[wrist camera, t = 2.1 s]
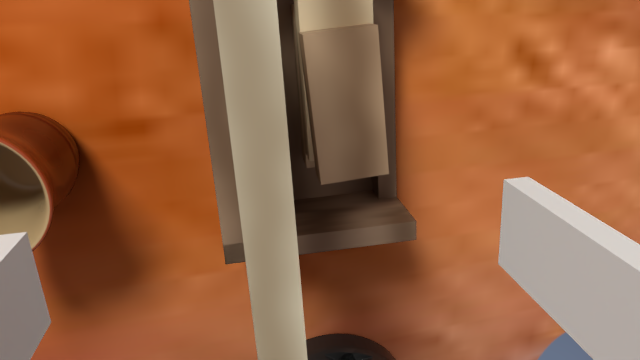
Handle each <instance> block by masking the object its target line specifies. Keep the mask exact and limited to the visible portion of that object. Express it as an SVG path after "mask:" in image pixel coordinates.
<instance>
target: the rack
mask: <svg viewBox="0 0 640 360" xmlns="http://www.w3.org/2000/svg"><path fill="white" fill-rule="evenodd" d="M189 4H190V11H191V18H192V25H193V33H194V40H195V47H196V54H197V61H198V69H199V76H200V83H201V90H202V97H203V104H204V112H205V119H206V126H207V133H208V140H209V148H210V155H211V162H212V169H213V176H214V183H215V191H216V198H217V205H218V212H219V219H220V227H221V234H222V241H223V248H224V255H225V262H226V264H232V263H240V262H246V260H245V252H244V244H243V236H242V228H241V220H240V212H239V204H238V196H237V188H236V180H235V171H234V163H233V155H232V147H231V139H230V131H229V123H228V115H227V107H226V99H225V91H224V83H223V75H222V67H221V59H220V51H219V43H218V35H217V27H216V19H215V11H214V3H213V0H189ZM291 4H294V0H277V12H278V23H279V35H280V46H281V58H282V69H283V81H284V93H285V104H286V116H287V127H288V139H289V151H290V162H291V174H292V185H293V197H294V208H295V220H296V232H297V243H298V255H302V254H309V253H317V252H325V251H333V250H341V249H348V248H356V247H364V246H372V245H379V244H387V243H395V242H403V241H410V240H416V220H415V219H414V218H413V217H412V215H411V214H410V213H409V212H408V210H407V209H406V208H405V207H404V206H403V204H402V203H401V202H400V201H399V199H398V198H397V191H396V128H395V64H394V0H373V24H376V25H378V33H379V46H380V59H381V73H382V86H383V100H384V113H385V126H386V140H387V153H388V166H389V174H385V175H379V176H373V177H367V178H361V179H355V180H349V181H343V182H336V183H330V184H324V185H321V184H320V181H319V179H318V177H317V175H316V170H315V167H312V168H307V167H306V165H305V163H304V160H303V154H302V142H301V129H300V116H299V103H298V90H297V77H296V65H295V52H294V39H293V26H292V13H291Z"/></svg>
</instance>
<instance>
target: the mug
mask: <svg viewBox="0 0 640 360" xmlns="http://www.w3.org/2000/svg"><path fill="white" fill-rule="evenodd" d="M79 165H80V157H79V151H78V148H77V145H76V143H75V141H74V139H73V138H72V136H71V135H70V134H69V132H68V131H67V130H66V129H65V128H64V127H63V126H62V125H60V124H59V123H58V122H56V121H55V120H53V119H51V118H49V117H46V116H44V115H41V114H37V113H31V112H11V113H5V114H1V115H0V235H4V234H13V233H22V232H27V234H28V238H29V241H30V245H31V249H32V251H34V250H35V249H36V248H37V247H38V246H39V245H40V244H41V242H42V241H43V239H44V238H45V236H46V234H47V233H48V230H49V228H50V225H51V222H52V217H53V209H54V208H55V207H56V206H57V205H58V204H59V203H60V202H61V201H62V200H63V199H64V198H65V197H66V196H67V195H68V194H69V193H70V191H71V190H72V188H73V186H74V184H75V181H76V179H77V176H78V171H79Z"/></svg>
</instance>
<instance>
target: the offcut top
mask: <svg viewBox="0 0 640 360" xmlns="http://www.w3.org/2000/svg"><path fill="white" fill-rule="evenodd" d="M298 34H299V42H300V50H301V58H302V66H303V74H304V82H305V90H306V98H307V106H308V114H309V122H310V130H311V138H312V146H313V154H314V162H315V170H316V175H317V177H318V179H319V181H320V184H321V185H324V184H330V183H336V182H343V181H349V180H355V179H361V178H367V177H373V176H379V175H385V174H389V166H388V153H387V140H386V126H385V113H384V100H383V86H382V73H381V59H380V46H379V33H378V25H376V24H371V23H366V24H359V25H351V26H343V27H336V28H328V29H321V30H313V31H305V32H298Z"/></svg>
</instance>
